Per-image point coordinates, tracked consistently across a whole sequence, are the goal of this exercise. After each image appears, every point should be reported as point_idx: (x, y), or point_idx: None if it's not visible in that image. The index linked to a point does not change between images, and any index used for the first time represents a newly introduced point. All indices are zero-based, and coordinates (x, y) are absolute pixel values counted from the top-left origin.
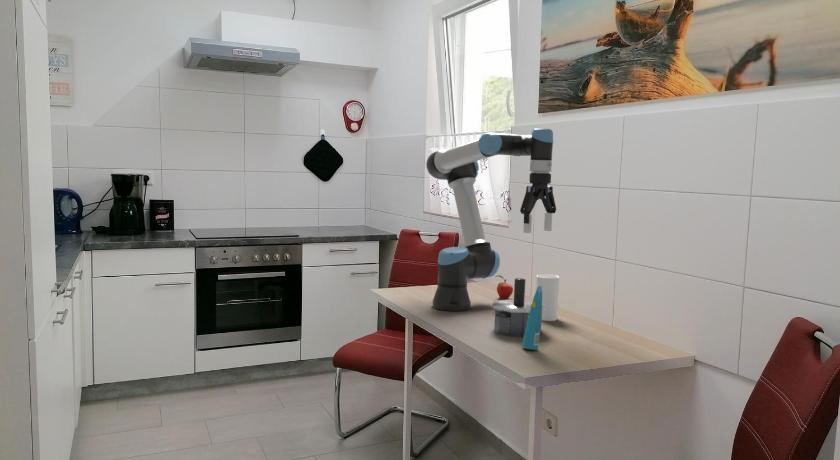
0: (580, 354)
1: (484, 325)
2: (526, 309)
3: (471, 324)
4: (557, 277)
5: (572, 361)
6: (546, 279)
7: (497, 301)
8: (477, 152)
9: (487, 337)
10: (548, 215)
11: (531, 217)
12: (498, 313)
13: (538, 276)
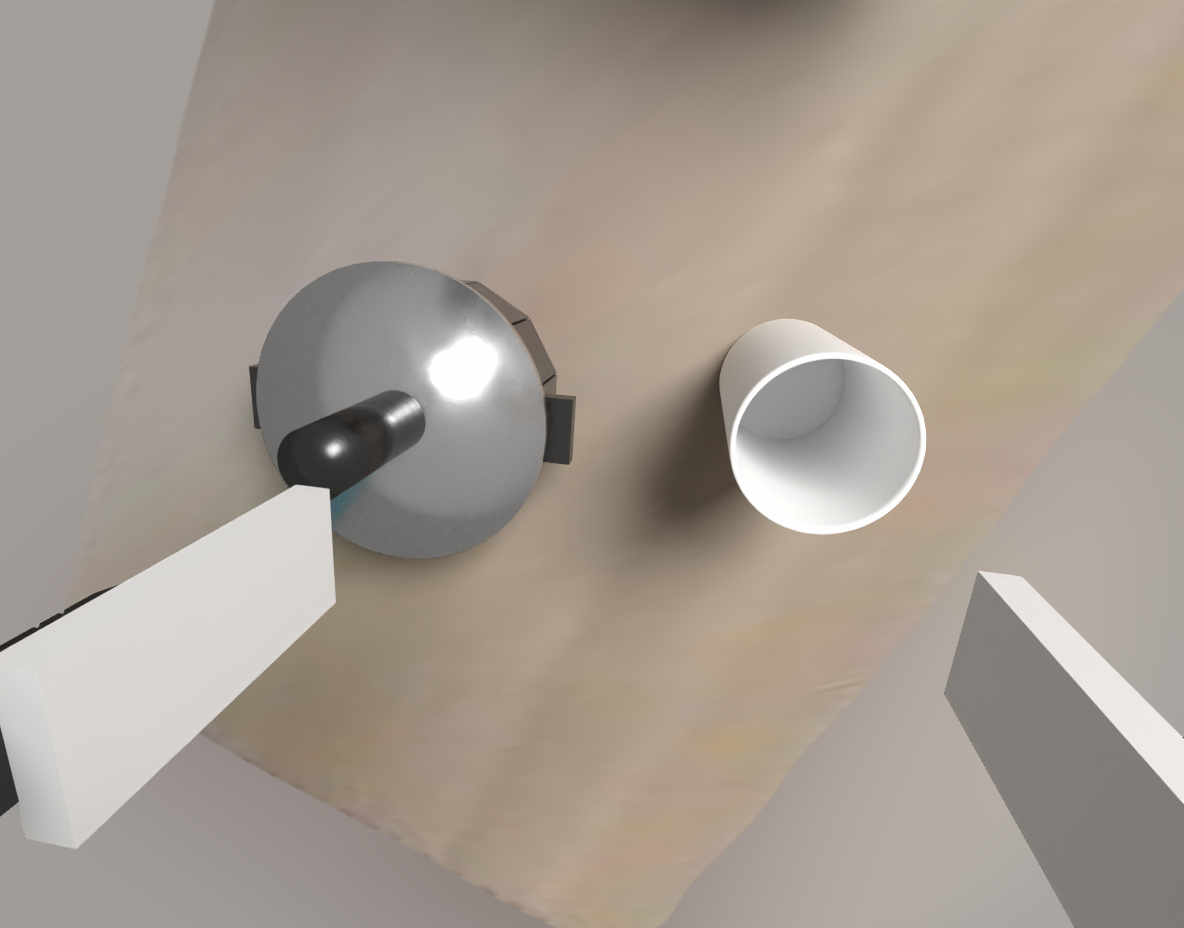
0: (352, 702)
1: (405, 213)
2: (345, 496)
3: (369, 147)
4: (887, 497)
5: (268, 705)
6: (732, 469)
7: (380, 272)
8: None
9: (256, 348)
10: (1138, 923)
11: (127, 788)
12: (254, 379)
13: (747, 397)
